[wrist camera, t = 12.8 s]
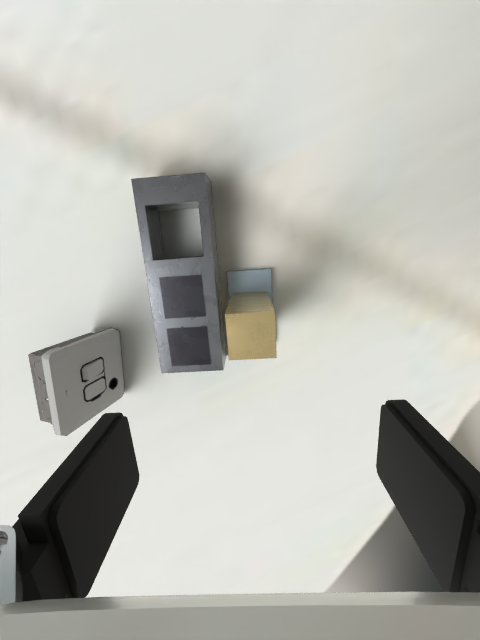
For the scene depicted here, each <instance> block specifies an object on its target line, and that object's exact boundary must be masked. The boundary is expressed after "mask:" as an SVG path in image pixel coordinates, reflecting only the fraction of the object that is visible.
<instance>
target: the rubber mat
mask: <svg viewBox="0 0 480 640" xmlns="http://www.w3.org/2000/svg"><path fill="white" fill-rule="evenodd" d="M227 280H228V292H229V301H230V299H231V296H232V294H234V293H250V292H267V293H268V296H269V298H270V301H271V303H272V284H271V269H257V270H242V271H228V272H227Z"/></svg>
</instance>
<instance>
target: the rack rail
mask: <svg viewBox="0 0 480 640" xmlns="http://www.w3.org/2000/svg"><path fill="white" fill-rule="evenodd" d="M131 180H132V187H133V193H134V200H135V206H136V212H137V219H138V225H139V232H140V238H141V244H142V251H143V257H144V264H145V270H146V276H147V283H148V289H149V296H150V302H151V308H152V315H153V321H154V328H155V334H156V340H157V347H158V353H159V360H160V366H161V372H162V373H176V372H196V371H216V370H223V369H224V364H225V359H226V350H225V338H224V327H223V316H222V304H221V293H220V281H219V270H218V259H217V247H216V236H215V225H214V213H213V202H212V190H211V182H210V180H209V179H208V177H207V175H206V173H195V174H184V175H172V176H160V177H148V178H136V179H131ZM188 208H199V214H200V224H201V234H202V244H203V254H204V256H200V257H186V258H172V259H165V258H164V251H163V243H162V236H161V229H160V221H159V214H158V211H163V210H175V209H188Z"/></svg>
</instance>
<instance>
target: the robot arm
mask: <svg viewBox="0 0 480 640" xmlns="http://www.w3.org/2000/svg"><path fill="white" fill-rule="evenodd" d="M376 467H377V473H378V476H379V478H380V479H381V481H382V483H383V485H384V487H385V488H386V490H387V492H388V494H389V495H390V497H391V499H392V501H393V502H394V504H395V506H396V508H397V509H398V511H399V513H400V515H401V517H402V518H403V520H404V522H405V524H406V525H407V527H408V529H409V531H410V532H411V534H412V536H413V538H414V539H415V541H416V543H417V545H418V547H419V548H420V550H421V552H422V554H423V555H424V557H425V559H426V561H427V562H428V564H429V566H430V568H431V569H432V571H433V573H434V575H435V576H436V578H437V580H438V582H439V584H440V585H441V587H442V588H443V589H444V590H445V591H446V592H364V593H363V592H357V593H356V592H355V593H354V592H353V593H275V594H216V595H168V596H125V597H92V598H85V597H86V596H87V595H88V593H89V591H90V589H91V587H92V585H93V583H94V581H95V578H96V576H97V574H98V572H99V569H100V567H101V565H102V563H103V561H104V558H105V556H106V554H107V552H108V550H109V547H110V545H111V543H112V541H113V539H114V536H115V534H116V532H117V530H118V528H119V525H120V523H121V521H122V519H123V517H124V514H125V512H126V510H127V508H128V506H129V503H130V501H131V499H132V497H133V494H134V492H135V490H136V488H137V485H138V482H139V471H138V467H137V462H136V457H135V452H134V447H133V442H132V438H131V433H130V428H129V423H128V419H127V417H125V416H123V414H122V413H105V414H104V415H102V417H101V418H100V419H99V420H98V421H97V422H96V424H95V425H94V426H93V427H92V428H91V430H90V431H89V432H88V433H87V434H86V436H85V437H84V438H83V439H82V440H81V441H80V443H79V444H78V445H77V446H76V447H75V449H74V450H73V451H72V452H71V453H70V454H69V456H68V457H67V458H66V459H65V460H64V462H63V463H62V464H61V465H60V466H59V468H58V469H57V470H56V471H55V472H54V473H53V475H52V476H51V477H50V478H49V479H48V481H47V482H46V483H45V484H44V485H43V486H42V488H41V489H40V490H39V491H38V492H37V494H36V495H35V496H34V497H33V498H32V500H31V501H30V502H29V503H28V504H27V505H26V507H25V508H24V509H23V510H22V511H21V513H20V514H19V515H18V517H19V519H18V521H17V522H16V523H15V524H14V525H13V527H11V526H9V525H0V640H480V472H479V471H478V470H477V469H476V468H475V467H474V466H473V465H471V463H469V461H467V460H466V459H465V458H464V457H463V456H462V455H461V454H460V453H459V452H458V451H457V450H456V449H455V448H454V447H453V446H452V445H451V444H450V443H449V442H448V441H447V440H446V439H445V438H444V437H443V436H442V435H441V434H440V433H439V432H438V431H437V430H436V429H435V428H434V427H433V426H432V425H431V424H430V423H429V422H428V421H427V420H426V419H425V418H424V417H423V416H422V415H421V414H420V413H419V412H418V411H417V410H416V409H415V408H414V407H413V406H412V405H411V404H409V403H408V402H407V401H406V400H388V401H386V404H385V405H382V406H381V414H380V426H379V439H378V451H377V464H376Z"/></svg>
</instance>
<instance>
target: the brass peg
mask: <svg viewBox="0 0 480 640" xmlns="http://www.w3.org/2000/svg"><path fill="white" fill-rule="evenodd" d="M225 320H226V332H227V343H228V355H229V360H243V359H263V358H277V357H276V329H275V310H274V308H273V305H272V303H271V301H270V298H269V296H268V293H267V292H250V293H234V294H232V296H231V299H230V301H229V304H228V307H227V310H226V313H225Z"/></svg>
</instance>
